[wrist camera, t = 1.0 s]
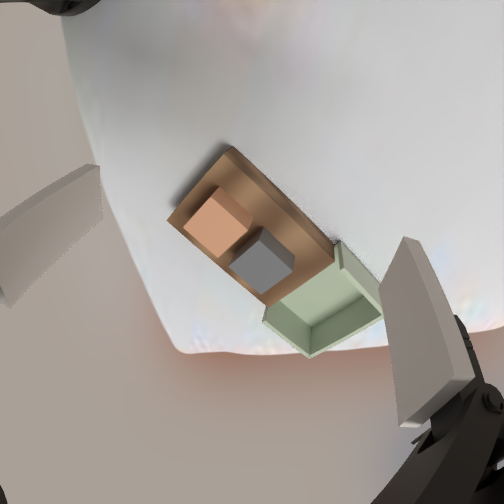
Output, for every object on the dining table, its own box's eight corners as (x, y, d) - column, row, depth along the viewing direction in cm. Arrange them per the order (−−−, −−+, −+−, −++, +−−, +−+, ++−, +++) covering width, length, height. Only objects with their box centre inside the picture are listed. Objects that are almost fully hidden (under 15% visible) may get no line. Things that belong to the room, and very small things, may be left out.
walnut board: (179, 207, 39) (166, 220, 35) (233, 146, 33) (223, 154, 30) (272, 288, 43) (268, 307, 39) (333, 243, 37) (335, 261, 34)
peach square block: (192, 215, 34) (182, 227, 32) (219, 186, 32) (210, 196, 29) (225, 244, 35) (217, 257, 33) (253, 217, 33) (248, 230, 30)
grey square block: (234, 252, 36) (228, 266, 33) (263, 226, 33) (258, 240, 31) (265, 279, 37) (261, 294, 34) (295, 256, 34) (293, 271, 32)
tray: (268, 293, 43) (261, 322, 38) (340, 240, 37) (344, 267, 32) (311, 329, 45) (309, 358, 40) (381, 285, 39) (388, 315, 34)
